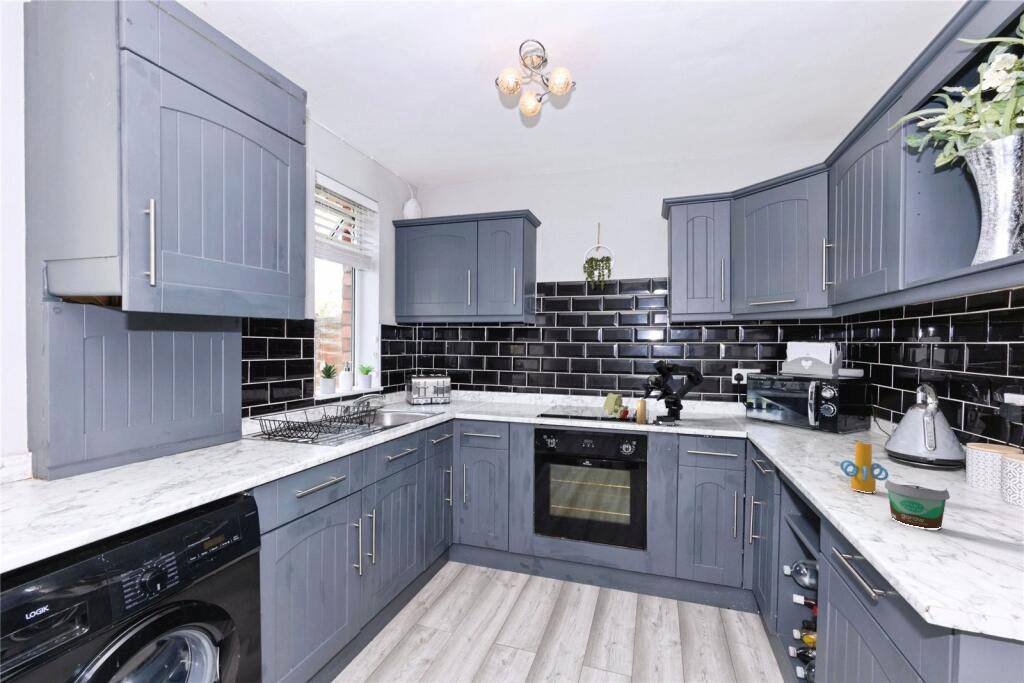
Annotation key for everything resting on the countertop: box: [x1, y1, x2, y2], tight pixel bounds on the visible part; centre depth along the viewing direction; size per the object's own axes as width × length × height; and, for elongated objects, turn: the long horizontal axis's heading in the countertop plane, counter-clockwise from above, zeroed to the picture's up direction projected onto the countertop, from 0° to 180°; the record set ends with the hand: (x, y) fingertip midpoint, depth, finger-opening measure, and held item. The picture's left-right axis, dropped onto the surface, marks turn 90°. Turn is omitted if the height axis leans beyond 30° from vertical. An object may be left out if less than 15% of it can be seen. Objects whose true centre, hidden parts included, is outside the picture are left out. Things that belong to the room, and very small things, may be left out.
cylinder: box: [839, 440, 889, 492], centre depth 136 cm, size 12×10×15 cm
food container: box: [883, 478, 951, 528], centre depth 110 cm, size 12×6×10 cm, turn 52°
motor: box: [652, 414, 676, 426], centre depth 246 cm, size 12×10×4 cm
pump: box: [636, 397, 647, 425], centre depth 248 cm, size 5×5×15 cm
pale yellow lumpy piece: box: [601, 392, 630, 419], centre depth 264 cm, size 8×17×20 cm, turn 53°
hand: (650, 399), depth 252 cm, fingers open, 9 cm apart
